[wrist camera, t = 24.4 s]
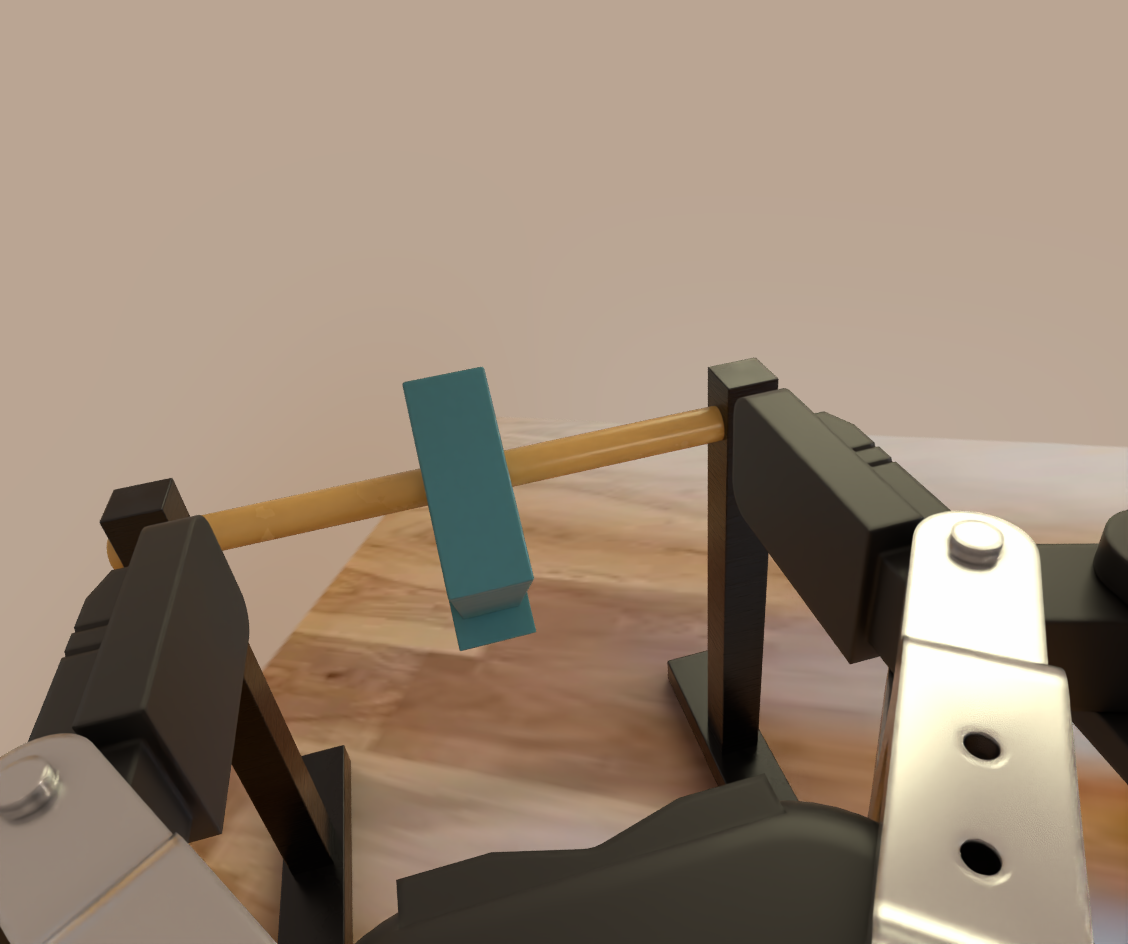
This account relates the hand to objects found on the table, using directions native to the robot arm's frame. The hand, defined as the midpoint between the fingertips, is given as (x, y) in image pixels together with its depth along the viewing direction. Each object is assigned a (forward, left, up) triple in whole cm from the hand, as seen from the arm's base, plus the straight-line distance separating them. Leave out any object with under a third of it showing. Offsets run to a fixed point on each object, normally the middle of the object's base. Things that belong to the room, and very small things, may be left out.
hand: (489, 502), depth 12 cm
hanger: (-12, -20, -19) cm, 30 cm away
